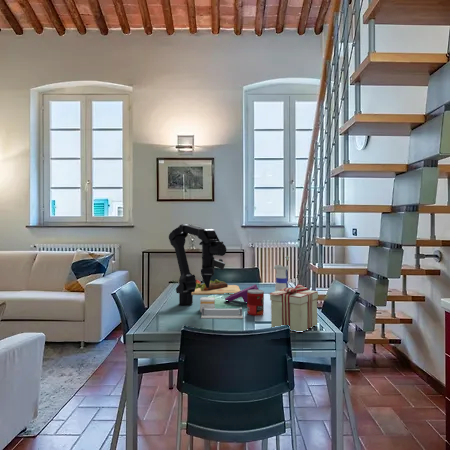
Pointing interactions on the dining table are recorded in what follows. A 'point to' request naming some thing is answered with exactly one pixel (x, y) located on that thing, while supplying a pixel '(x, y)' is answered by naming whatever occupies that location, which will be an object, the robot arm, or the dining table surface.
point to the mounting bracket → (241, 294)
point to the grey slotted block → (207, 303)
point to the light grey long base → (221, 313)
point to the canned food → (255, 302)
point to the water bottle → (281, 276)
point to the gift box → (294, 308)
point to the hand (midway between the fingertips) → (207, 286)
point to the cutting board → (215, 288)
